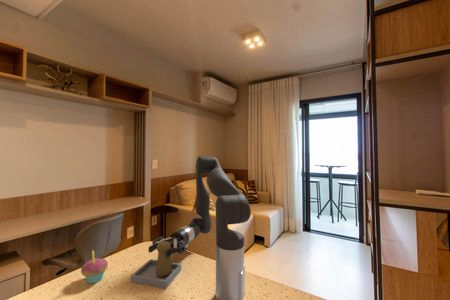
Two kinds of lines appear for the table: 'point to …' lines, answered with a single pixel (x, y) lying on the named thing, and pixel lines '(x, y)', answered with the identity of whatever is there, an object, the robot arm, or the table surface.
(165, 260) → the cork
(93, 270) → the cupcake
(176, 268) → the gray tray
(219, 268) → the robot arm
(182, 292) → the table surface
